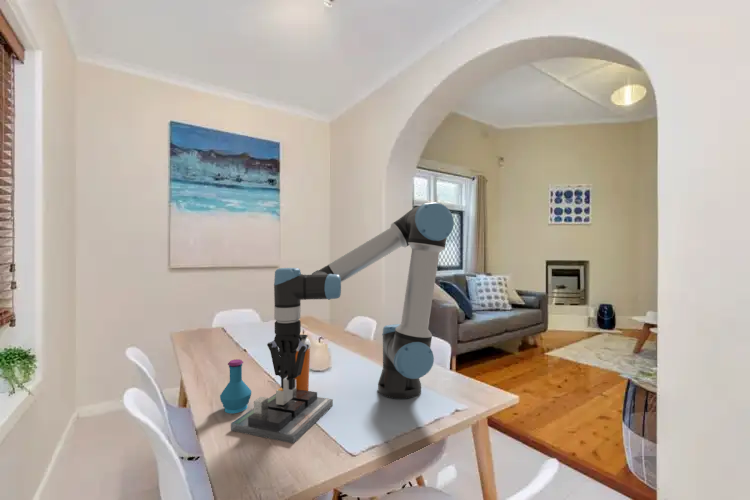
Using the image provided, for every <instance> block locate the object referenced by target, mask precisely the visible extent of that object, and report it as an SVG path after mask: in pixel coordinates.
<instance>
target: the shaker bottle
mask: <svg viewBox="0 0 750 500" xmlns="http://www.w3.org/2000/svg"><path fill="white" fill-rule="evenodd" d="M308 336H309V335H308V334H300V337H301V340H302V341H301V342H303V343H304V344H305V345H306V344H308V345H309V347H308V349H307V351H306V353H305V357H304V362H303V367H302V371H301V375H299V376H298V377H296V378H295V379H296V389H298V390H305V391H309V383H310V359H311V358H310V357H311V356H310V355H311V353H310V352H311V347H312V346H311V345H312V343H311V341H310V339H309V338H308ZM298 349H299V346H298V348H297V349H296V360H297V355H298V352H299V350H298ZM287 376H288V375H287Z"/></svg>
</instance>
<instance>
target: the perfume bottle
mask: <svg viewBox="0 0 750 500" xmlns="http://www.w3.org/2000/svg"><path fill="white" fill-rule="evenodd" d="M243 364H244V361H243V360H242V359H240V358H239V359H237V358H236V359H231V360H230V361H228V362H227V365H228V369H229V382H228V383H227V385H226V386H225V388H224V389H223V390H222V392H220V395H219V398H220V402H221V404H222V407H223V408H224V412H225V413H227V414H238V413H243V412H244V411H246V410H247V408H248V405H249V401H250V399H251V397H252V390H251V389H250V387H249V386H248V385H247V384H246V383H245V381H243V369H242V368H243Z"/></svg>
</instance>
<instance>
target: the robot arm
mask: <svg viewBox="0 0 750 500" xmlns="http://www.w3.org/2000/svg"><path fill="white" fill-rule="evenodd" d="M454 225H455V222H454V216H453V214H452V212H451V211H450V209H449V208H448V207H447V206H446V205H444V204H442V203H441V202H440V203H439V202H425V203H423V204H422V205H418V206H415V207H413V208H412V209H410V210H409V211H408V212H406V213H405V214H404V215H403V216H401V217H400V218H398V219H397V220H396V221H394V222H392V223H391V224H390V227H389V228H387V229H386V230H384V231H382V232H381V233H379V234H378V235H376V236H374V237H372V238H371V239H368V241H365V242H364V243H362V244H361V245H359V246H357V247H356V248H354V249H352V250H350V251H349V252H347V253H345V254H344V255H342V256H341V257H338V258H337V259H335V260H333V261H332V262H330V263H329V264H327V265H326V266H323V267H322V268H320V269H318V270H317V269H316V270H315V271H313V272H312V273H311V274H303V273H302V272H301V269H300V268H298V267H283V268H282V267H280V268H277V269H276V270H275V271H274V280H273V281H274V282H273V283H274V284H273V288H274V289H273V294H274V295H273V296H274V298H273V299H274V300H273V301H274V302H273V303H274V309H273V310H274V315H273V316H274V317H273V318H274V320H275V321H274V334H275V336H274V338H273V340H272V341H270V342H268V343H266V345H267V348H268V349H269V351H270V356H271V361H272V366H273V370H274V375H275V376H279V377H280V386H281V387H280V388H283V401H286V402H288V401H289V400H291V399H292V398H293V389H294V388H295V378H296V377H298V376H299V375H301V371H302V367H303V362H304V357H305V353H306V351H307V349H308V347H309V345H308V344H306V345H305V344H304V343H303V342H301V341H302V340H301V337H300V335H301V331H302V328H301V326H302V325H301V320H300V319H301V301H304V300H306V301H307V300H335V299H340V297H341V295H342V283H343V282H345V281H347V280H348V279H350V278H351V277H353V276H355V275H356V274H358V273H359V272H361V271H363V270H364V269H366V268H368V267H370V266H371V265H373V264H375V263H376V262H378V261H380V260H381V259H384V257H386V256H388V255H391V254H392V253H393V252H394V251H396V250H398V249H399V248H401V247H403V248H406V247H408V246H409V247H410V248H411V254H410V263H409V267H408V274H407V281H406V287H405V294H404V302H403V307H402V308H403V310H402V314H401V322H400V323H399V324H398V323H397V324H387V325H385V326H383V329H382V335H381V336H382V369H381V372H380V377H379V379H378V382H377V385H378V386H377V391H378V393H379V394H381V395H382V396H384V397H387V398H391V399H397V400H398V399H399V400H401V399H402V400H403V399H404V400H405V399H406V400H407V399H411V398H414V397H417V396H419V395H420V394H421V393H422V383H421V380H420V378H422V377H424V376H426V375H427V374H428V373H429V372H430V371H431V370H432V368H433V366H434V360H435V358H434V357H435V356H434V353H433V350H432V348H431V346H432V340H433V339H432V337H433V334H432V332H431V331H430V330H429V325H430V317H431V311H432V305H433V298H434V291H435V286H436V285H435V284H436V277H437V269H438V265H439V257H440V253H441V252H442V251H444V250H445V248H446V244H447V238H448V237H449V236H450V235H451V233H452V231H453V229H454ZM298 346H299V349H298V350H299V352H298V355H297V360H296V349H297V348H298ZM287 375H288V376H287Z"/></svg>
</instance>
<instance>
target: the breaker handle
mask: <svg viewBox="0 0 750 500" xmlns="http://www.w3.org/2000/svg"><path fill="white" fill-rule="evenodd" d="M275 394H276V404H279V405H284V404H286V403H287V402H286V401H283V388H281V387H279V388H278V389H277V390H275Z"/></svg>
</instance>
